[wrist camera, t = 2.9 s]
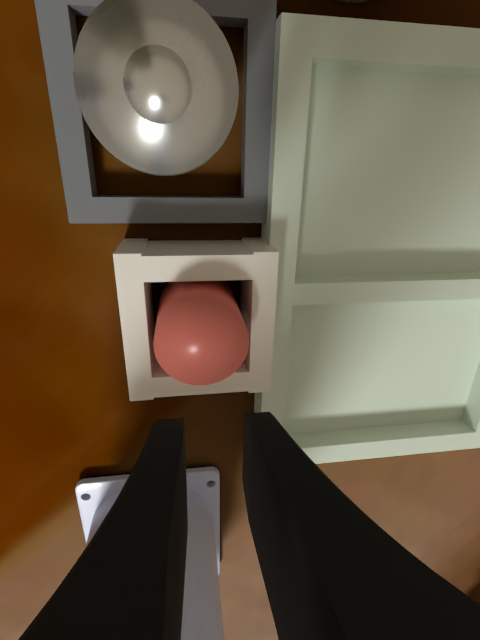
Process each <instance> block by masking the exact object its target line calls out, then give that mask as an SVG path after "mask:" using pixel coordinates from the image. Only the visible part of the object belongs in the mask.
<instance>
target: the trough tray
mask: <svg viewBox="0 0 480 640" xmlns="http://www.w3.org/2000/svg"><path fill="white" fill-rule="evenodd" d="M261 238H262V239H263V240H264V241H265V242H267V243H268V244H269V245H272V246H273V247H274V248H275V249H277V250H278V251H279V261H278V278H277V294H276V310H275V327H274V343H273V360H272V376H271V392H258V393H255V398H254V413H257V412H271V413H272V414H273V415H274V416H275V418H276V419H277V420H278V421H279V423H280V424H281V425H282V426H283V428H284V429H285V430H286V431H287V432H288V434H289V435H290V436H291V437H292V438H293V439H294V441H295V442H296V443H297V444H298V445H299V446H300V448H301V449H302V450H303V451H304V452H305V453H306V454H307V455H308V457H309V458H310V459H311V460H312V461H313V462H314V463H315V464H319V463H329V462H339V461H349V460H359V459H370V458H380V457H390V456H400V455H410V454H421V453H431V452H441V451H451V450H461V449H471V448H480V28H468V27H456V26H444V25H431V24H419V23H407V22H394V21H382V20H370V19H358V18H345V17H333V16H321V15H308V14H296V13H284V12H282V13H281V14H280V15H279V17H278V18H277V20H276V32H275V53H274V75H273V96H272V118H271V139H270V161H269V182H268V204H267V223H262V230H261Z"/></svg>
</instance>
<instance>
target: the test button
mask: <svg viewBox="0 0 480 640" xmlns="http://www.w3.org/2000/svg"><path fill="white" fill-rule="evenodd" d="M153 348H154V353H155V357H156V359H157V361H158V363H159V365H160V366H161V368H162V369H163V370H164V371H165V372H166V373H167V374H168V375H169V376H171V377H172V378H174V379H176V380H178V381H180V382H183V383H186V384H190V385H209V384H213V383H217V382H220V381H222V380H224V379H226V378H227V377H229V376H231V375H232V374H233V373H234V372H235V371H236V370H237V369H238V368H239V367H240V366H241V364H242V363H243V361H244V360H245V358H246V355H247V352H248V348H249V334H248V330H247V327H246V324H245V322H244V319H243V317H242V314H241V312H240V309H239V307H238V304H237V302H236V300H235V297H234V295H233V292H232V290H231V288H230V287H229V285H228V284H227V283H226V282H225V281H224V280H223V281H181V282H168V284H167V285H166V286H165V288H164V289H163V291H162V293H161V296H160V300H159V307H158V314H157V320H156V327H155V333H154V340H153Z"/></svg>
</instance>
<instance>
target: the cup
mask: <svg viewBox="0 0 480 640" xmlns="http://www.w3.org/2000/svg"><path fill="white" fill-rule="evenodd" d="M336 1H339V2H344V3H363V2H368V1H371V0H336Z"/></svg>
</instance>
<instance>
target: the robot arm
mask: <svg viewBox="0 0 480 640" xmlns="http://www.w3.org/2000/svg"><path fill="white" fill-rule="evenodd" d="M209 481H213V482H209ZM243 486H244V493H245V500H246V506H247V513H248V519H249V524H250V528H251V532H252V536H253V540H254V544H255V548H256V552H257V556H258V560H259V563H260V567H261V571H262V575H263V579H264V583H265V587H266V591H267V594H268V598H269V602H270V606H271V610H272V614H273V618H274V622H275V626H276V629H277V634H278V638H279V640H480V605H479V604H478V603H477V602H475V601H474V600H473V599H471V598H470V597H468V596H467V595H466V594H464V593H463V592H462V591H460V590H459V589H457V588H456V587H455V586H453V585H452V584H451V583H449V582H448V581H446V580H445V579H444V578H442V577H441V576H440V575H438V574H437V573H435V572H434V571H433V570H431V569H430V568H429V567H428V566H426V565H425V564H424V563H423V562H421V561H420V560H419V559H418V558H416V557H415V556H414V555H413V554H411V553H410V552H409V551H408V550H406V549H405V548H404V547H403V546H402V545H400V544H399V543H398V542H397V541H396V540H394V539H393V538H392V537H391V536H390V535H388V534H387V533H386V532H385V531H384V530H383V529H382V528H380V527H379V526H378V525H377V524H376V523H375V522H374V521H373V520H371V519H370V518H369V517H368V516H367V515H366V514H365V513H364V512H363V511H362V510H361V509H360V508H358V507H357V506H356V505H355V504H354V503H353V502H352V501H351V500H350V499H349V498H348V497H347V496H346V495H345V494H344V493H343V492H342V491H341V490H340V489H339V488H338V487H337V486H336V485H335V484H334V483H333V482H332V481H331V480H330V479H329V478H328V477H327V476H326V475H325V474H324V473H323V472H322V471H321V469H320V468H319V467H318V466H317V465H316V464H315V463H314V462H313V461H312V460H311V459H310V458H309V457H308V455H307V454H306V453H305V452H304V451H303V450H302V449H301V448H300V446H299V445H298V444H297V443H296V442H295V441H294V439H293V438H292V437H291V436H290V435H289V434H288V432H287V431H286V430H285V429H284V428H283V426H282V425H281V424H280V423H279V421H278V420H277V419H276V418H275V416H274V415H273V414H272V413H271V412H257V413H244V445H243ZM75 492H76V497H77V502H78V506H79V511H80V516H81V521H82V526H83V531H84V535H85V540H86V547H85V550H84V551H83V553H82V554H81V556H80V557H79V559H78V560H77V562H76V563H75V565H74V566H73V567H72V569H71V570H70V572H69V573H68V574H67V576H66V577H65V579H64V580H63V581H62V583H61V584H60V586H59V587H58V588H57V590H56V591H55V593H54V594H53V595H52V597H51V598H50V599H49V601H48V602H47V603H46V605H45V606H44V607H43V608H42V610H41V611H40V612H39V614H38V615H37V616H36V618H35V619H34V620H33V621H32V623H31V624H30V625H29V627H28V628H27V629H26V631H25V632H24V633H23V634H22V636H21V637H20V638H19V640H224V631H223V620H222V609H221V598H220V587H219V576H218V575H219V573H220V476H219V470H218V469H217V468H216V467H201V468H191V469H186V457H185V437H184V418H178V419H165V420H157V421H156V422H154V423H153V424H152V427H151V430H150V433H149V435H148V438H147V440H146V443H145V445H144V447H143V449H142V451H141V453H140V456H139V458H138V460H137V462H136V464H135V466H134V468H133V470H132V471H131V473H130V474H128V475H117V476H107V477H96V478H86V479H81V480H80V481H78V483H77V485H76V488H75ZM85 493H86V494H89V495H86V494H85Z"/></svg>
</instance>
